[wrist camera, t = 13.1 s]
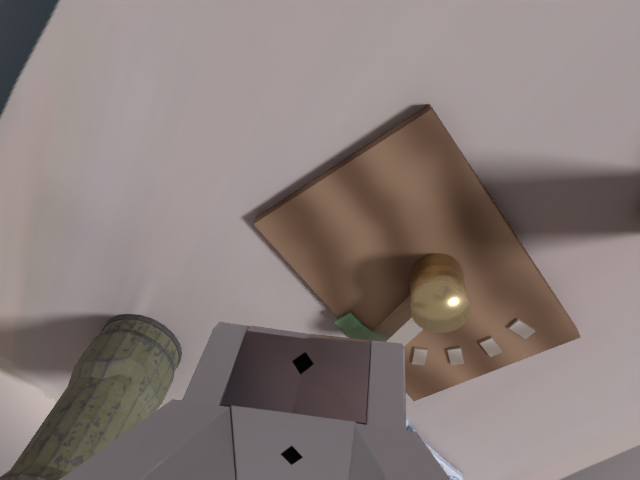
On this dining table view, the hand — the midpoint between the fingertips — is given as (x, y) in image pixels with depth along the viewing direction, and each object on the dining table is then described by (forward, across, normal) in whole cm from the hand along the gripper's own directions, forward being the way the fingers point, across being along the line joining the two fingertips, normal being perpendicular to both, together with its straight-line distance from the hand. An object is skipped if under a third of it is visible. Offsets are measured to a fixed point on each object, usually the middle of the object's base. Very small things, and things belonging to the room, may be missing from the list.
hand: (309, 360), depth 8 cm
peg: (+30, -5, +22) cm, 38 cm away
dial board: (+31, -6, +20) cm, 38 cm away
